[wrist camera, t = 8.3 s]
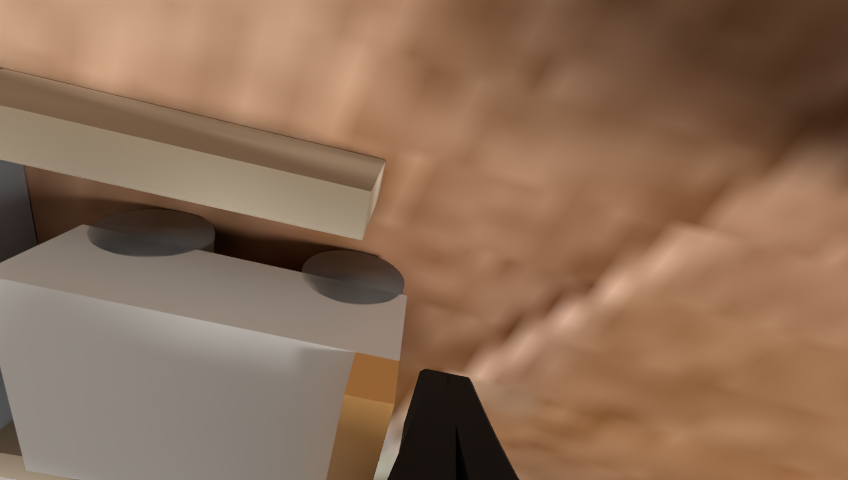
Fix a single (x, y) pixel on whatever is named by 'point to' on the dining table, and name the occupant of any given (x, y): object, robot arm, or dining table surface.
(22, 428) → the trolley
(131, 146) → the dock
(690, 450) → the dining table surface
